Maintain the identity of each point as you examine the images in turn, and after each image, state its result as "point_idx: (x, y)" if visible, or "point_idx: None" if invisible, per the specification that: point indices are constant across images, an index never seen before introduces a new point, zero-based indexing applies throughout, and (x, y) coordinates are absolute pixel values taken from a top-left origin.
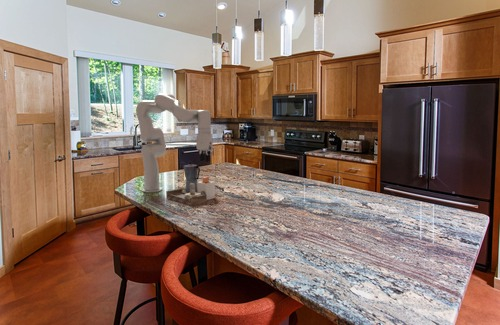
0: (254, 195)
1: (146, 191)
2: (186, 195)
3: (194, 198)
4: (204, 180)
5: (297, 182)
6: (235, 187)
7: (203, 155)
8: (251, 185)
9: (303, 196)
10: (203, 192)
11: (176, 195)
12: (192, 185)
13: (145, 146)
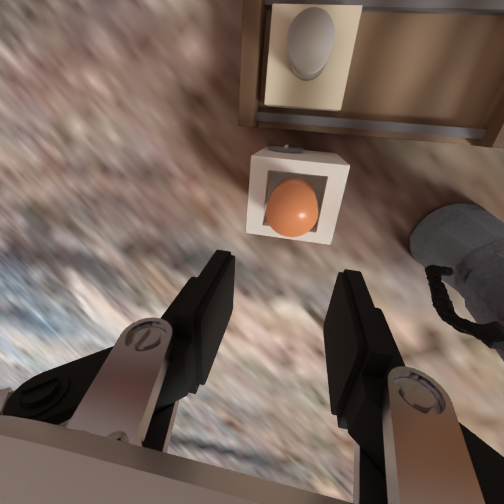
0: (166, 302)
1: None
2: (333, 6)
3: (245, 6)
4: (284, 183)
5: (180, 442)
6: (295, 359)
7: (336, 374)
8: (263, 393)
9: (69, 344)
10: (280, 147)
11: (478, 64)
12: (294, 23)
13: None
